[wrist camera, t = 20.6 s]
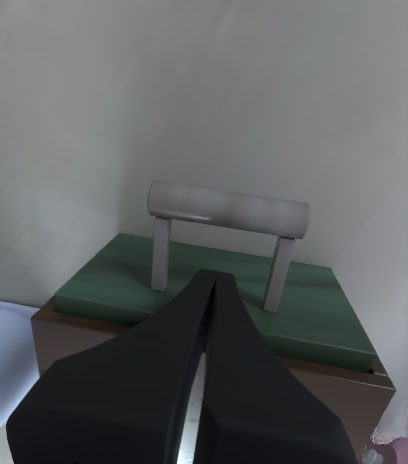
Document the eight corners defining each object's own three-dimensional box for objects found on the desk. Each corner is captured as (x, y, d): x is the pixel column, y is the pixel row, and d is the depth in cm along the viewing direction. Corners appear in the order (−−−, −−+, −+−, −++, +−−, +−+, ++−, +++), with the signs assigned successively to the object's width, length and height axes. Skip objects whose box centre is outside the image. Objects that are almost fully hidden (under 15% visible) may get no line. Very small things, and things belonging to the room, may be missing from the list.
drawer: (118, 152, 16) (40, 176, 10) (358, 186, 15) (434, 236, 9) (119, 372, 23) (73, 466, 17) (283, 407, 22) (298, 520, 16)
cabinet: (115, 236, 19) (29, 317, 11) (333, 273, 18) (397, 390, 10) (116, 377, 24) (58, 496, 17) (285, 413, 23) (304, 558, 16)
